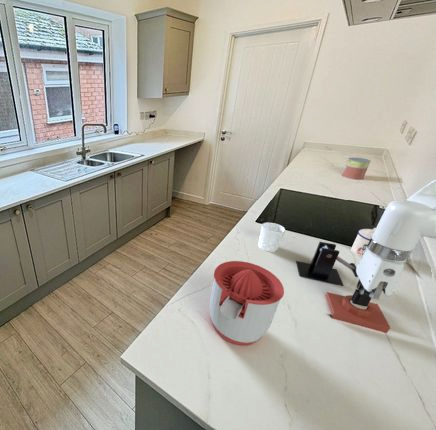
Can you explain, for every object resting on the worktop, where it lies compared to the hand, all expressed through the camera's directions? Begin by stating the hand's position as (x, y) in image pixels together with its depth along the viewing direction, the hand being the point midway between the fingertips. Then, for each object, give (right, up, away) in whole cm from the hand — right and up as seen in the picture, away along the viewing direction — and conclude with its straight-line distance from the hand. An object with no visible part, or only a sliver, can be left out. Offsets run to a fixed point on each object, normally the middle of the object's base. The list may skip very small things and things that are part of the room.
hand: (358, 303), depth 73 cm
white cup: (-7, +11, +32) cm, 34 cm away
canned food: (+96, +51, +107) cm, 153 cm away
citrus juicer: (-36, -7, -2) cm, 37 cm away
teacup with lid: (+29, +9, +26) cm, 40 cm away
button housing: (0, -4, +2) cm, 4 cm away
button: (0, -2, +1) cm, 2 cm away
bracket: (+2, +4, +17) cm, 18 cm away
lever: (+5, +9, +13) cm, 16 cm away
